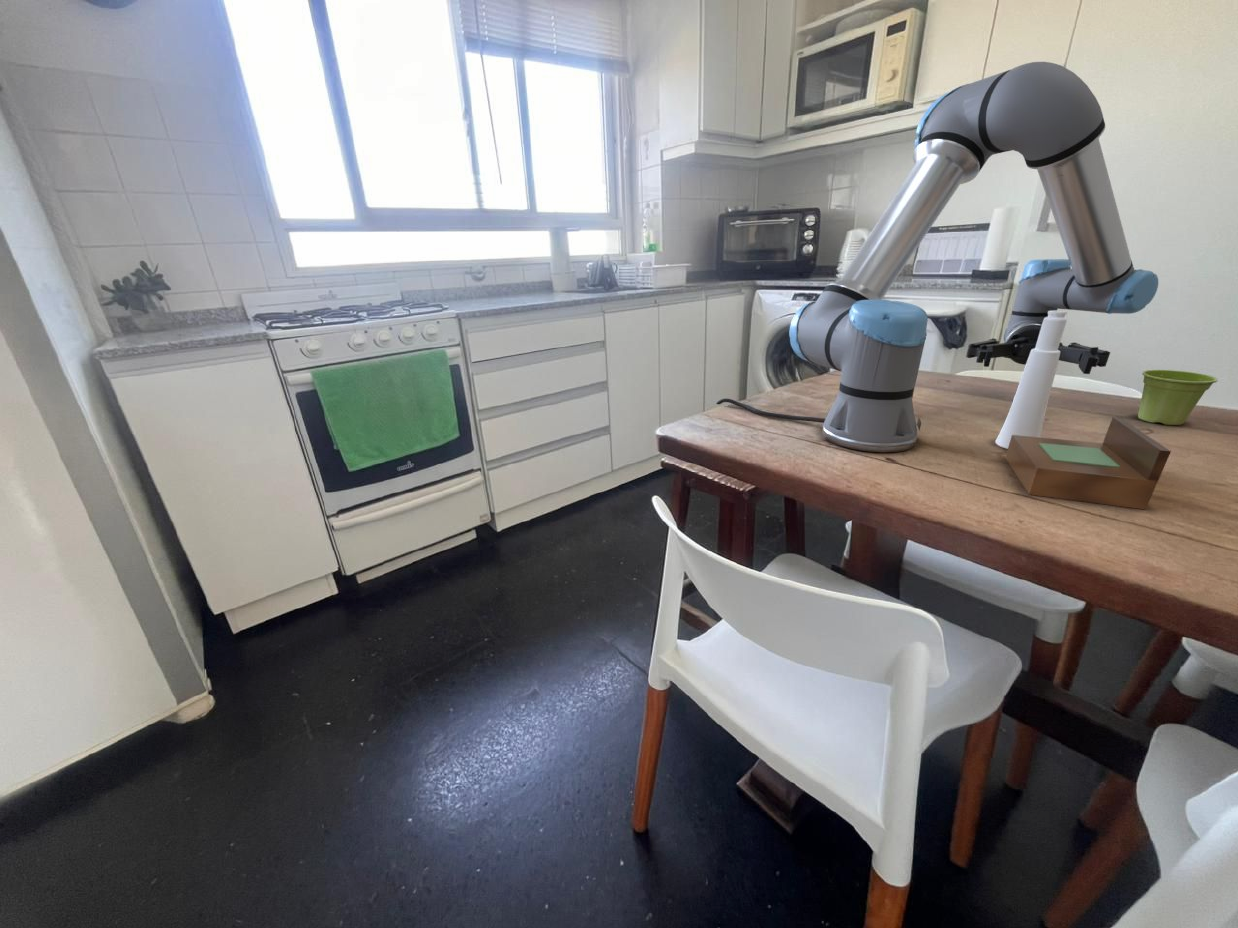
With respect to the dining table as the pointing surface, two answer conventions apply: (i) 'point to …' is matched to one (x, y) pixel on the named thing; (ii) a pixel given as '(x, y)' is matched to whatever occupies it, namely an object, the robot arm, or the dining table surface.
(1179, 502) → the dining table surface
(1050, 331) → the cosmetic bottle
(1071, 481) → the wooden block green inlay
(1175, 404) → the plant pot
